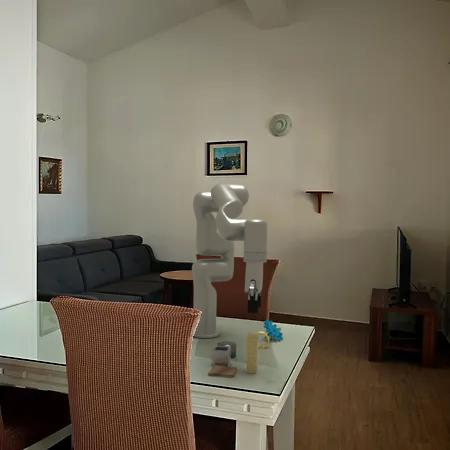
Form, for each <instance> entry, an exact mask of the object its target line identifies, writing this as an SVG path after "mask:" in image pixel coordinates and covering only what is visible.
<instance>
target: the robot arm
mask: <svg viewBox="0 0 450 450" xmlns="http://www.w3.org/2000/svg"><path fill="white" fill-rule="evenodd" d="M249 198H250V194H249V190H248V188H247V186H245V185H244V184H241V183H228V182H227V183H226V182H224V183H223V182H221V183H217V184H215V185H214V186H213V187H212V188H211V189H210V191H209V190H207V191H206V190H204V191H198V192H197V193H196V194H195V195H194V197H193V202H192V209H193V213H194V216H195V220H196V231H195V234H196V235H195V241H196V243H195V244H196V245H195V246H196V248H195V249H196V253H197V254H198V255H199V256H205V257H208V256H209V257H210V256H212V257H213V256H215V257H216V256H219V257H220V258H200V259H197V260H195V261H194V262H193V264H192V266H191V274H192V280H193V283H192V284H193V310H194V309H198V310H201V311H202V316H201V318H200V321H199V323H198V326H197V328H196V331H195V334H194V337H193V338H196V339H197V338H198V339H212V338H217V337H219V336H221V334H220V331H219V330H217V303H218V302H217V301H218V300H217V297H218V296H217V294H218V293H217V290H216V289H215V287H214V286H213V285H212V283H216V282H229V281H231V280H232V279H233V276H234V271H235V269H234V267H235V241H237V242H239V241H240V242H243V263H246V266H245V276H244V278H245V279H244V293H245V294H248V295H247V297H248V298H247V313H249V314H258V312H259V309H261V307H262V296H261V293H262V290H263V282H264V281H263V279H264V263H267V261H268V257H267V255H268V253H267V252H268V223H267V221H266V220H264V219H257V218H241V217H240V215H241V214H242V212H243V211H244V209H243V208H244V207H245V206H246V205H247V203H248V201H249ZM213 213H216V217H215V215H214V214H213ZM239 217H240V218H239Z"/></svg>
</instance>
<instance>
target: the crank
mask: <svg viewBox="0 0 450 450" xmlns="http://www.w3.org/2000/svg"><path fill="white" fill-rule="evenodd" d="M237 345H238V344H237V343H236V342H234V341H231V340H230V341H226V340H224V341H223V340H222V341H218V342H217V343H216V345H215V346H214V347H213V349H212V350H211V351H212V353H211V354H212V355H211V366H213V365H217V366H230V364H231V360H232V358H236V357H237Z"/></svg>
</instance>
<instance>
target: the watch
mask: <svg viewBox="0 0 450 450" xmlns="http://www.w3.org/2000/svg"><path fill="white" fill-rule="evenodd" d="M256 334H258V336H259V335H260V336H264V337H265V336H266V337H267V338H266V339H267V344H266V345H265V346H262V345H261V346H260V345H258V349H259V348H260V349H266V348H267V347H268V346H269V344H270V336H269V337H268V335H267V334H268V333H266V331H258V332H257V333H256Z"/></svg>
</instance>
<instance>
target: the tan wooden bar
mask: <svg viewBox="0 0 450 450" xmlns="http://www.w3.org/2000/svg"><path fill="white" fill-rule="evenodd" d="M246 342H247V343H246V373H247V374H257V373H258V370H259V369H258V365H259V364H258V363H259V361H258V360H259V348H258V346H259V334H257V333H252V332H251V333H249V332H248V334H247V336H246Z"/></svg>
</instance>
